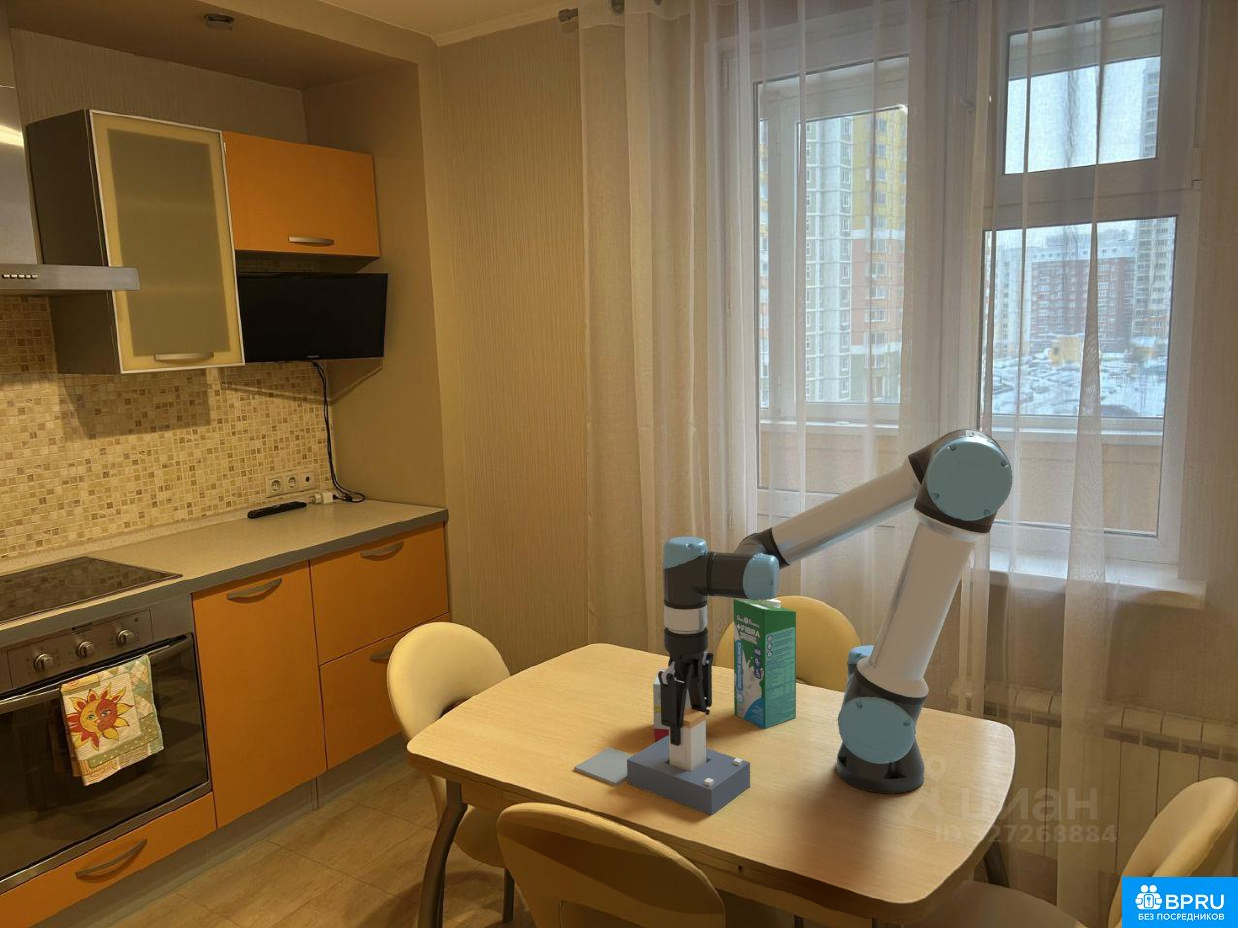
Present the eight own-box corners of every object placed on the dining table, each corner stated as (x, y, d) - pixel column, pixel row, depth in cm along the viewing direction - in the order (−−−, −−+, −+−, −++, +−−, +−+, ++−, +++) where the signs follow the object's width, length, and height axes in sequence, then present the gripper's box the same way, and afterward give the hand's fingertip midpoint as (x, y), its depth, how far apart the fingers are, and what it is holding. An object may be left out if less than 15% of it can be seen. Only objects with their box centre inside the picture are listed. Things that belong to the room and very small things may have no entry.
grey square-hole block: (750, 786, 160) (749, 759, 160) (711, 815, 151) (711, 786, 150) (667, 757, 172) (667, 732, 171) (627, 783, 163) (626, 756, 162)
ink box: (696, 743, 177) (695, 685, 176) (652, 740, 179) (651, 683, 177) (701, 724, 186) (700, 669, 184) (659, 722, 188) (658, 667, 186)
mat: (650, 764, 169) (650, 761, 169) (616, 785, 162) (615, 782, 162) (609, 749, 176) (609, 746, 176) (574, 769, 168) (574, 766, 168)
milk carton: (796, 717, 188) (796, 600, 184) (763, 729, 183) (763, 608, 179) (765, 703, 195) (765, 590, 192) (733, 714, 190) (732, 598, 187)
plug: (706, 783, 162) (705, 712, 160) (691, 794, 158) (690, 721, 156) (685, 776, 165) (684, 706, 163) (670, 786, 161) (668, 715, 159)
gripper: (697, 610, 166) (698, 731, 170) (636, 636, 153) (640, 767, 156) (732, 617, 162) (733, 742, 165) (673, 645, 148) (675, 780, 152)
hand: (687, 754), depth 161 cm, fingers closed on plug, 5 cm apart
